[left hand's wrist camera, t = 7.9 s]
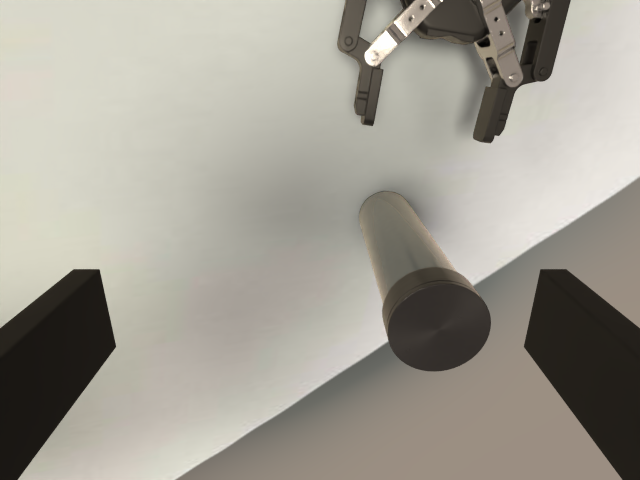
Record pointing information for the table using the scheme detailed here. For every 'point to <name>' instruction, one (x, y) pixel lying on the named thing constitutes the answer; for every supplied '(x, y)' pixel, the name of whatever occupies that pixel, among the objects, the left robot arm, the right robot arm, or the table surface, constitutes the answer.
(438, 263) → the grey cylinder
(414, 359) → the lid
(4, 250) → the table surface
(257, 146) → the table surface
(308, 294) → the table surface
